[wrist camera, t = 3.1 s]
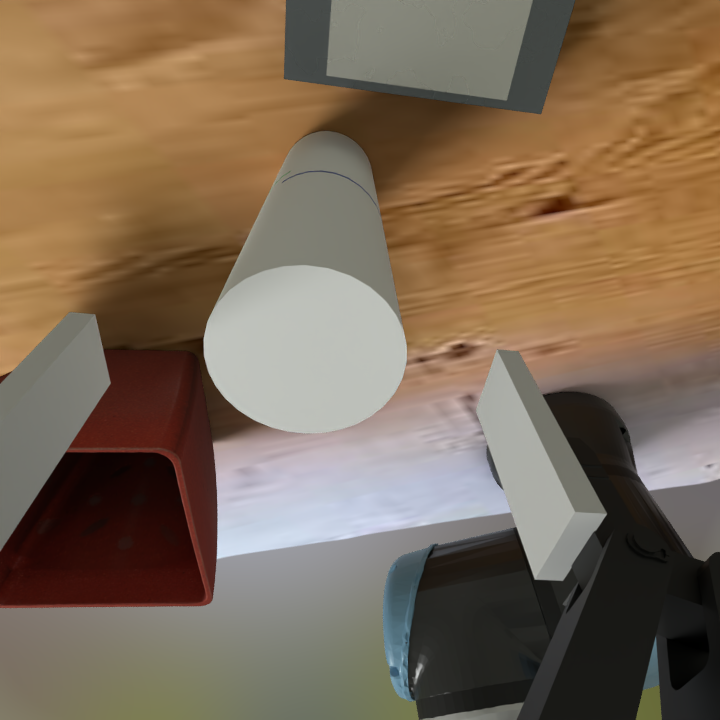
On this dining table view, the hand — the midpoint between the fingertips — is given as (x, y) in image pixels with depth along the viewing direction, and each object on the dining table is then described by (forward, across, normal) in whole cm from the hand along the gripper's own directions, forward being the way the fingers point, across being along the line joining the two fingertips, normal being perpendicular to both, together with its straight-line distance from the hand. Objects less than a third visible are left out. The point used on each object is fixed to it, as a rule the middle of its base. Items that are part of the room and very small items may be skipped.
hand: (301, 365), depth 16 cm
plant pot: (+26, +17, +24) cm, 39 cm away
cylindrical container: (+26, 0, 0) cm, 26 cm away
